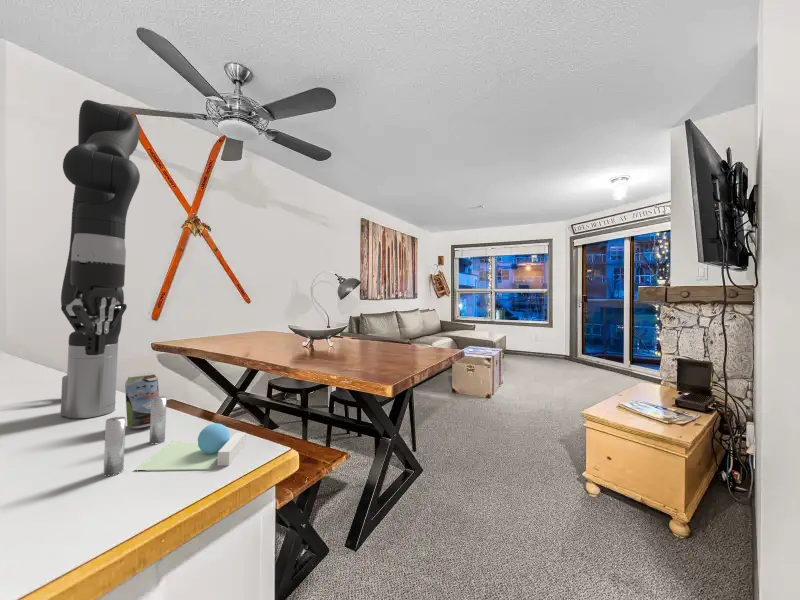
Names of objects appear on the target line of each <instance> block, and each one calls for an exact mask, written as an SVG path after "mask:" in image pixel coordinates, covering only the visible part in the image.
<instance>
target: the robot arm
mask: <svg viewBox="0 0 800 600" xmlns="http://www.w3.org/2000/svg"><path fill="white" fill-rule="evenodd" d="M78 113H79V114H78V135H77V136H78V137H77V139H78V142H77V143H78V144H77V145H73V147H72V148H71V147H70V149H69V150H68V151H67V152H66V154H65V156H64V158H63V160H62V170H63V174H64V176H65V178H66V179H67V180H68V181H69V182H70V183H71V184H73V186H74V191H73V193H74V194H73V199H72V201H73V202H72V207H71V209H72V210H71V223H70V224H71V229H70V241H69V250H68V256H67V260H66V261H67V262H66V266H65V273H64V275H63V276H64V277H63V281H62V288H61V295H60V303H61V304H60V306H61V307H60V310H61V311H62V314H63V315H64V316H65V317H66V319H67V321H68V323H69V324H70V325H71V327H72V328H73V330H74V331H73V332H71V333H70V334H69V336H68V348H67V349H68V351H67V369H66V370H67V371H66V375H64V376H62V377H61V395H60V397H61V399H60V415H59V416H60V417H66V418H69V419H87V418H93V417H94V418H95V417H99V416H103V415H104V416H105V415H107V414H110V413H112V412H114V411H115V410H116V399H117V398H116V393H117V378H118V377H117V375H118V373H117V372H118V357H119V356H118V354H119V352H118V350H119V336H120V333H121V331H122V324H123V323H122V322H123V321H122V320H123V316H124V313H125V311H127V306H128V305H127V304H126V303H125V296H124V295H125V293H124V289H123V287H125V280H126V279H125V274H126V257H127V255H126V253H127V251H126V241H125V239H126V224H127V214H128V211H129V207H130V205H131V202H132V200H133V198H134V196H135V193H136V190H137V189H138V186H139V184H140V180H141V179H140V178H141V177H140V176H141V174H140V171H139V168H138V167H137V165H136V164H135V162H133V161H132V160H130V157H131V155H132V154H133V153H134V151H136V149H137V146H138V144H139V137H140V125H139V122H138V121H139V120H138V119H137V118H136V117H135V116H134V115H133V114H131V113H129V112H127V111H125V110H122V109H119V108H116V107H113V106H110V105H107V104H103V103H100V102H98V101H94V100H90V99H85V100H84V101H83V102H82V103H81V105H80V108H79V112H78Z"/></svg>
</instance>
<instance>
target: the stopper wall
mask: <svg viewBox="0 0 800 600" xmlns="http://www.w3.org/2000/svg"><path fill="white" fill-rule="evenodd" d="M246 434H247V432H235V433H234V434H233V435H232V436H231V437H229V441H228V442H227V443H226V444H225V445H224V446H223V447H222V448H221V449H220V450H219V451H218V459H217V466H219V467H220V466H221V467H223V466H226V467H227V466H230V464H232V463H233V461H234V460H235V459H236V458H237V456H238V455H239V454H240V452H241V451H242V450H243V448H244V447H245V446H246V440H247V439H246V436H247V435H246Z"/></svg>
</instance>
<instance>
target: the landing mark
mask: <svg viewBox="0 0 800 600" xmlns="http://www.w3.org/2000/svg"><path fill="white" fill-rule="evenodd" d="M181 441H182V440H172V441H170V442H169V443H168V444H166V445H165V446H164V447H162V448H160V450H158V451H157V452H156V453H155V454H153V455H151V456H150V457H149V458H148V459H146V460H145V461H144V462H143V463H141V464H140V465H138V466H137V467H136V468H135V469H134V470H137V471H136V472H139V471H138V470H146V471H145V472H156V471H157V472H160V471H162V472H163V471H164V472H166V471H167V472H168V471H169V472H170V471H173V472H175V471H208V470H209V469H210V468H211V467H212V466H213V465H214V464H215V462H216V461H218V452H217V453H214V454H208V453H204V452H203V451H201V450H200V448H199V446H198V444H196V443H192V442H191V443H189V444H188V443H187V442H185V443H183V442H181ZM213 463H214V464H213ZM212 464H213V465H212Z"/></svg>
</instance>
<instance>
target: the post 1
mask: <svg viewBox="0 0 800 600" xmlns="http://www.w3.org/2000/svg"><path fill="white" fill-rule="evenodd" d="M126 425H127V417H125V416H115V417H110V418H108V419H106V420H105V428H104V429H105V434H104V450H103V451H104V453H103V457H104V459H103V474H104V475H106V476H105V477H109V476H108V475H113V474H117V473H119V472H121V471H122V470H123V471H124V466H125V465H124V463H125V462H124V461H125V444H126ZM121 473H122V472H121ZM104 475H103V476H104ZM117 475H118V474H117Z"/></svg>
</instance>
